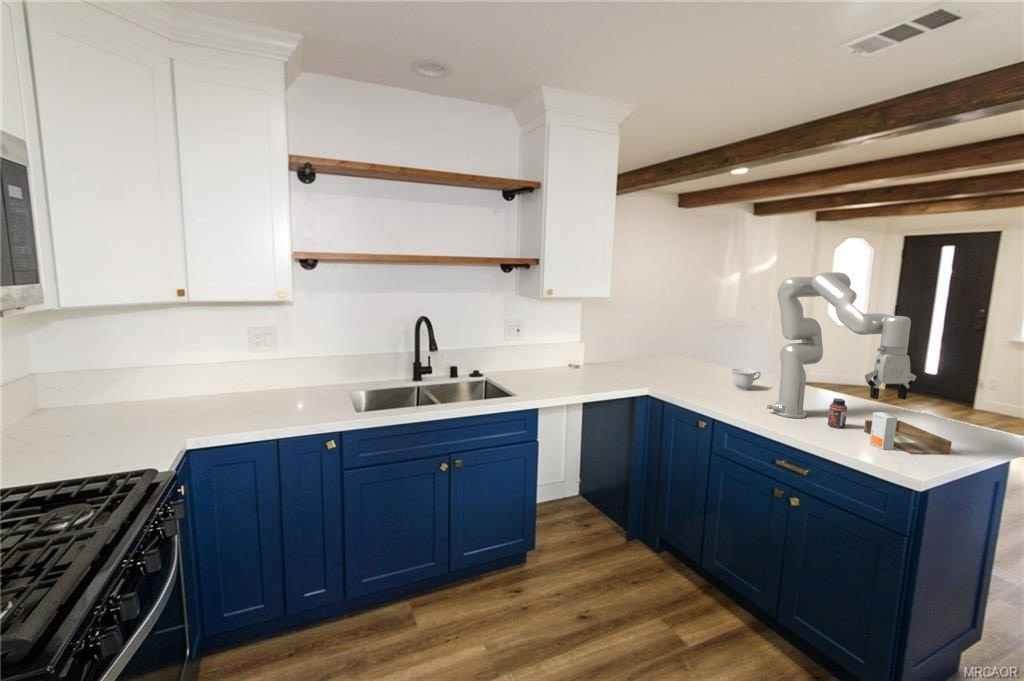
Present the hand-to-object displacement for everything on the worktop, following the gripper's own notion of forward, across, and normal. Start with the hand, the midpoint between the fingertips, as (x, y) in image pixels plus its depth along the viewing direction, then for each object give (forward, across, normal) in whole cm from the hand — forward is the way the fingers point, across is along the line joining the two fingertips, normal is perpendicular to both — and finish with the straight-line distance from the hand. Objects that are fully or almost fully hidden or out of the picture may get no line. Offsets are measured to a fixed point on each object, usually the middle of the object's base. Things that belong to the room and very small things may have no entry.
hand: (887, 398), depth 171 cm
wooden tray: (+18, +12, +5) cm, 22 cm away
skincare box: (+18, 0, 0) cm, 18 cm away
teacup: (+18, -12, +82) cm, 84 cm away
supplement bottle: (+18, -2, +22) cm, 29 cm away
